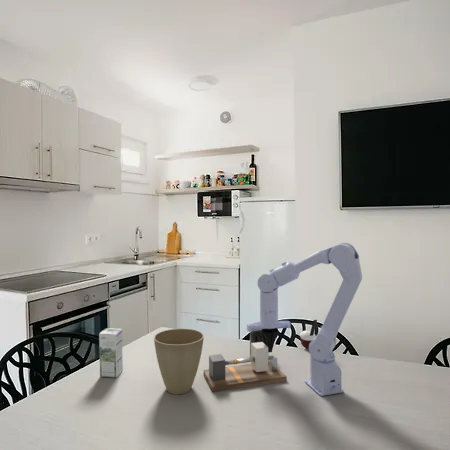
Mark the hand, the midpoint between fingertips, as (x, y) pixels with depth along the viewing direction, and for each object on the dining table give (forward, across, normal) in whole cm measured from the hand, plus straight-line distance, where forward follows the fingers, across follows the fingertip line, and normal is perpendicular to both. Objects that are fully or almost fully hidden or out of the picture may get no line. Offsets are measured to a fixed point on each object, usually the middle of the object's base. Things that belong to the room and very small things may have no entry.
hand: (268, 351), depth 117 cm
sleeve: (+5, +3, 0) cm, 6 cm away
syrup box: (+8, +50, -15) cm, 52 cm away
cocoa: (+8, -24, -18) cm, 31 cm away
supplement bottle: (+8, -2, -15) cm, 17 cm away
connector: (+6, +18, 0) cm, 19 cm away
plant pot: (+8, +30, +1) cm, 31 cm away
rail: (+6, +8, 0) cm, 10 cm away
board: (+8, +8, 0) cm, 11 cm away
